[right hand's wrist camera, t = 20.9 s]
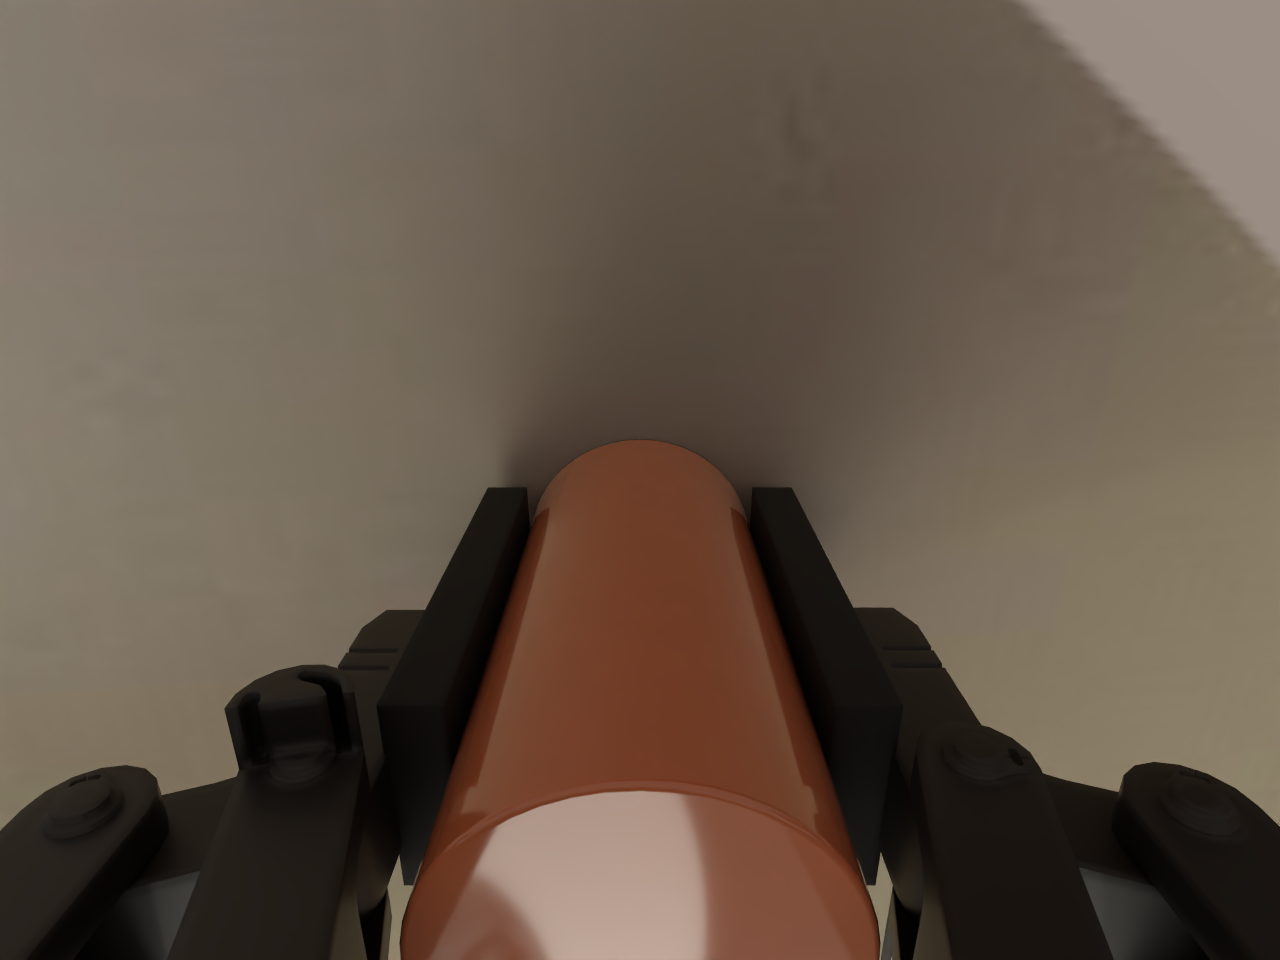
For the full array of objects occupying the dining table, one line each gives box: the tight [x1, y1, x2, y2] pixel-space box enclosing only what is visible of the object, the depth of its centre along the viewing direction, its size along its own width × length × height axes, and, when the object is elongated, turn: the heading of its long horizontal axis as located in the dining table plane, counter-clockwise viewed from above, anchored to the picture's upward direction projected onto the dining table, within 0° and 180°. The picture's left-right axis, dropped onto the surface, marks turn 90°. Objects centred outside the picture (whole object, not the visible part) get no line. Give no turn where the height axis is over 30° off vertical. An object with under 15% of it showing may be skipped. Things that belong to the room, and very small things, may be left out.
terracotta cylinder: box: [400, 440, 880, 960], centre depth 11 cm, size 4×4×9 cm
